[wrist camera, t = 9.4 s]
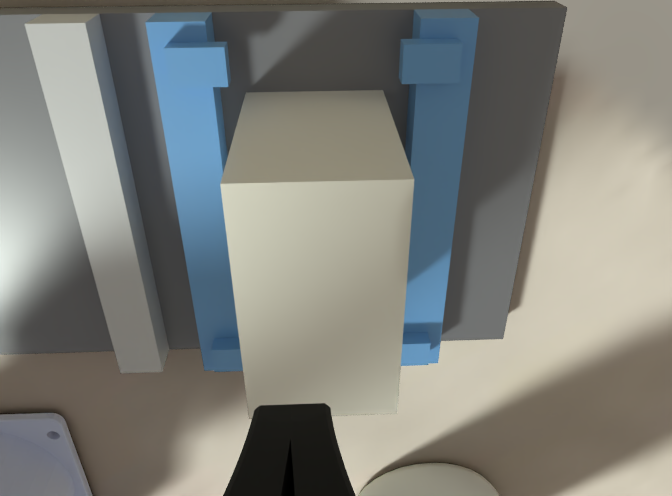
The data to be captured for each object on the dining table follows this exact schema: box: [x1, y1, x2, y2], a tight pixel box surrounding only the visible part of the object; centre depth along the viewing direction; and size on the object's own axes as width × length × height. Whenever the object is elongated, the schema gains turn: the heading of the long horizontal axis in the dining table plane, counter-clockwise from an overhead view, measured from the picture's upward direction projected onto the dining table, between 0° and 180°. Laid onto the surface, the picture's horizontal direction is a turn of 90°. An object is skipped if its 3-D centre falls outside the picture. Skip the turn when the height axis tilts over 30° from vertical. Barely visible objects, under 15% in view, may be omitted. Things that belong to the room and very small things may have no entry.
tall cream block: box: [220, 90, 414, 419], centre depth 17 cm, size 7×4×6 cm, turn 0°
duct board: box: [0, 1, 567, 373], centre depth 19 cm, size 12×24×3 cm, turn 90°
